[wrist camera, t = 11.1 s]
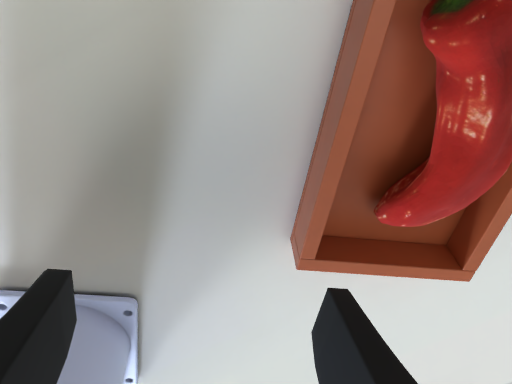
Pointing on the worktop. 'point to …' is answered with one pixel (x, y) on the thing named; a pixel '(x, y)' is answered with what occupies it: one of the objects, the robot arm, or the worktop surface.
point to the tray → (385, 160)
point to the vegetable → (460, 112)
